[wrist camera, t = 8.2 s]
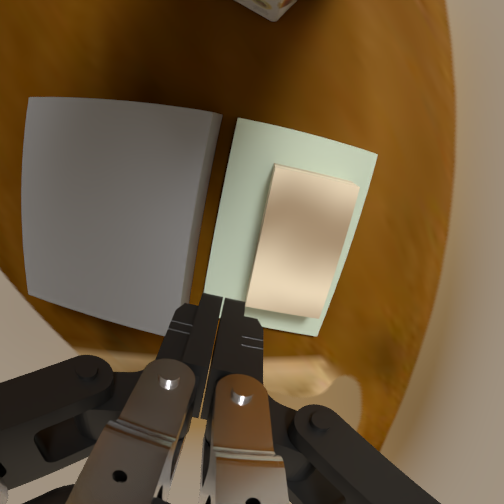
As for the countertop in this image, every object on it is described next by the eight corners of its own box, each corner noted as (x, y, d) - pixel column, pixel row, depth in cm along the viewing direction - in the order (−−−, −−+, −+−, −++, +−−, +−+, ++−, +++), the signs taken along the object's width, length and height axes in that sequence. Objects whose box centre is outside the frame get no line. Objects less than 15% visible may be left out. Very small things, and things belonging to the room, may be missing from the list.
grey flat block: (62, 97, 18) (29, 97, 14) (222, 114, 19) (213, 112, 15) (54, 271, 23) (28, 294, 20) (188, 307, 24) (176, 339, 20)
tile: (359, 187, 18) (351, 181, 20) (275, 167, 18) (274, 163, 19) (319, 319, 21) (315, 303, 23) (245, 306, 21) (246, 291, 23)
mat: (238, 117, 19) (237, 117, 18) (375, 153, 19) (377, 154, 19) (201, 310, 24) (200, 313, 24) (316, 332, 25) (316, 336, 24)
